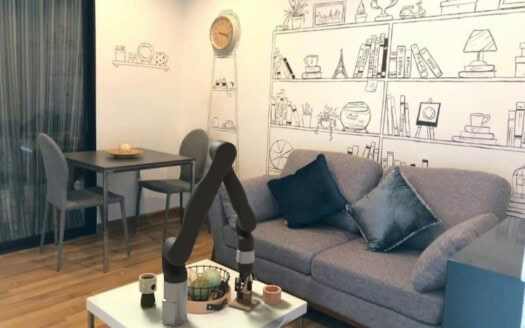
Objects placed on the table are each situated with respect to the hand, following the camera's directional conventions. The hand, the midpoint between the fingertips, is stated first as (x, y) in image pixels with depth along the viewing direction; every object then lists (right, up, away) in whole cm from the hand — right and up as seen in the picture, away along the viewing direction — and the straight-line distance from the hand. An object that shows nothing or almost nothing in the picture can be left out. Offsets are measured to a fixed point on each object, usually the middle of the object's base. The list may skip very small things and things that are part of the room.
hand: (244, 295), depth 186 cm
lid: (0, -4, 0) cm, 4 cm away
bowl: (+12, -4, +5) cm, 13 cm away
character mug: (-41, -4, -3) cm, 41 cm away
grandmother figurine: (+1, -3, +13) cm, 13 cm away
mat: (0, -4, 0) cm, 4 cm away
